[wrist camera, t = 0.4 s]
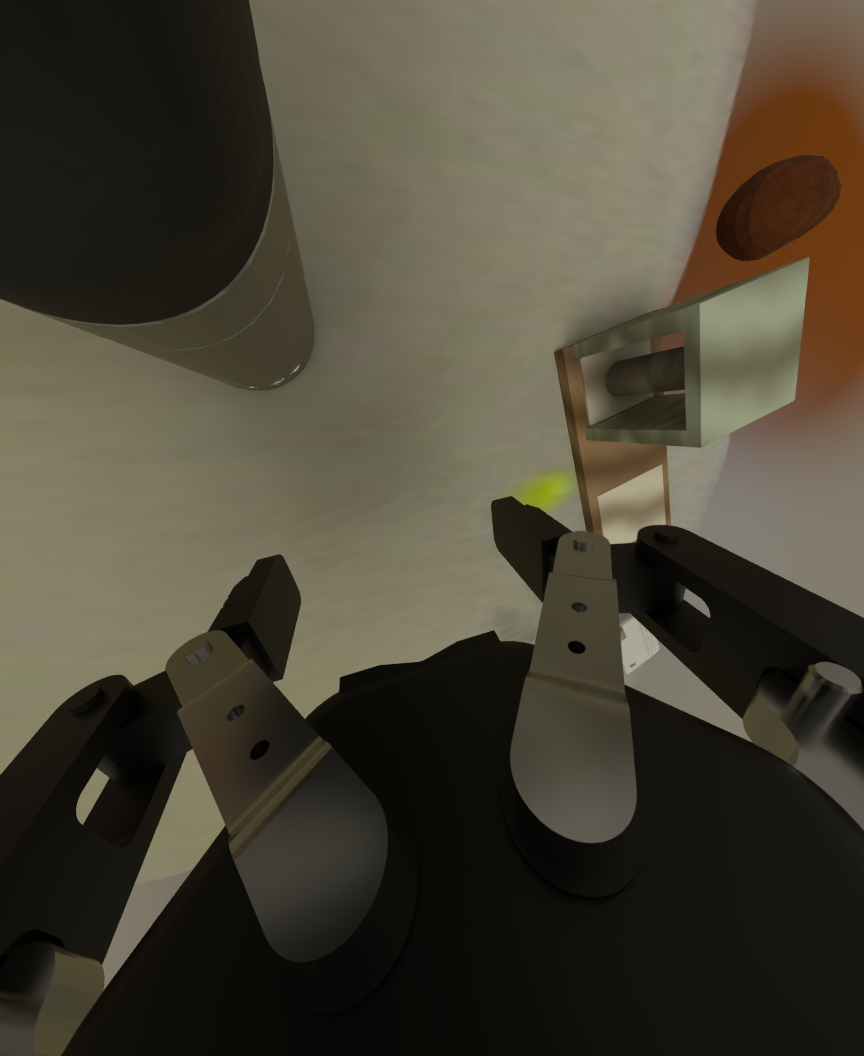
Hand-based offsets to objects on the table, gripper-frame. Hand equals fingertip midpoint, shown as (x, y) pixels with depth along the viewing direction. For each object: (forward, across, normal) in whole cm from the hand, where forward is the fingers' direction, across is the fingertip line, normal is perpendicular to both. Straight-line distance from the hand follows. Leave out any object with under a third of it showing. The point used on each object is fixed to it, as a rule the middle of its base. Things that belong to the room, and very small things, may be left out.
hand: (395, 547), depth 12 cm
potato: (+23, -40, -12) cm, 48 cm away
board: (+20, -26, +7) cm, 34 cm away
